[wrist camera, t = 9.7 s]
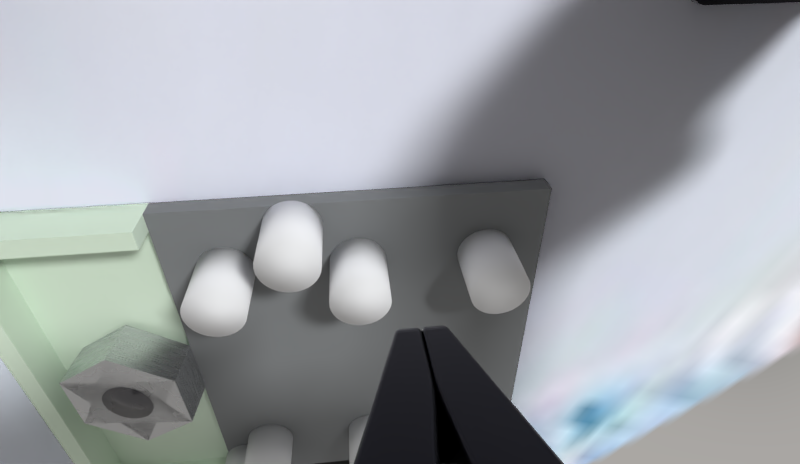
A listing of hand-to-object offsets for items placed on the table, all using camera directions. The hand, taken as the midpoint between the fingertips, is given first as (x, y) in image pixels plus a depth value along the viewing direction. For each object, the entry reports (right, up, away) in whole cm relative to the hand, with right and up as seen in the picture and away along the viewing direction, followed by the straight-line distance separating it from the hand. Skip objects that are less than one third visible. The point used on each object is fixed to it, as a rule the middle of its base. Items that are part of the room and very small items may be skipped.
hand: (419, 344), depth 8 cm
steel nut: (-12, -5, +16) cm, 21 cm away
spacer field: (-6, -4, +17) cm, 18 cm away
